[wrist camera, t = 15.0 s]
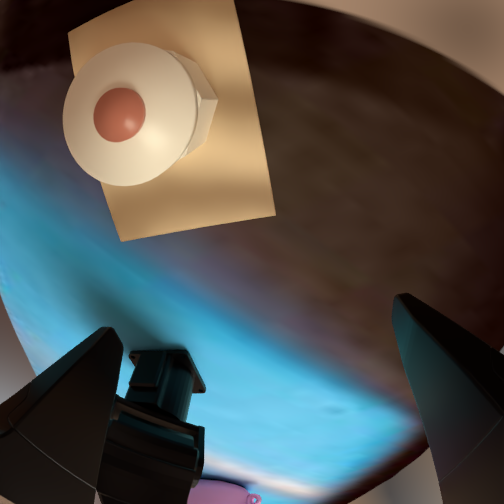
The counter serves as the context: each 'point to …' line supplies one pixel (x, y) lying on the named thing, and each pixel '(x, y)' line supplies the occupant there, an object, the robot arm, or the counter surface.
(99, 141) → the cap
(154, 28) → the stud block
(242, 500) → the teapot
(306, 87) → the counter surface
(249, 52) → the counter surface
